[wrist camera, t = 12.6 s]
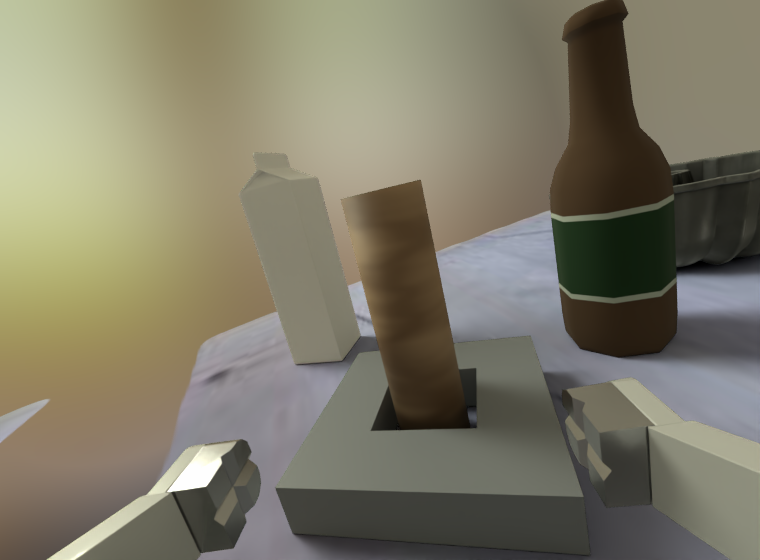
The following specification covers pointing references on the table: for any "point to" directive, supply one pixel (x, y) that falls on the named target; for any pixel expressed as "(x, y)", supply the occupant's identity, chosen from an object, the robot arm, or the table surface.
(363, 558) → the table surface
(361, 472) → the socket block
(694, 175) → the bundt pan
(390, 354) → the dowel
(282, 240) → the milk
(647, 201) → the beer bottle
